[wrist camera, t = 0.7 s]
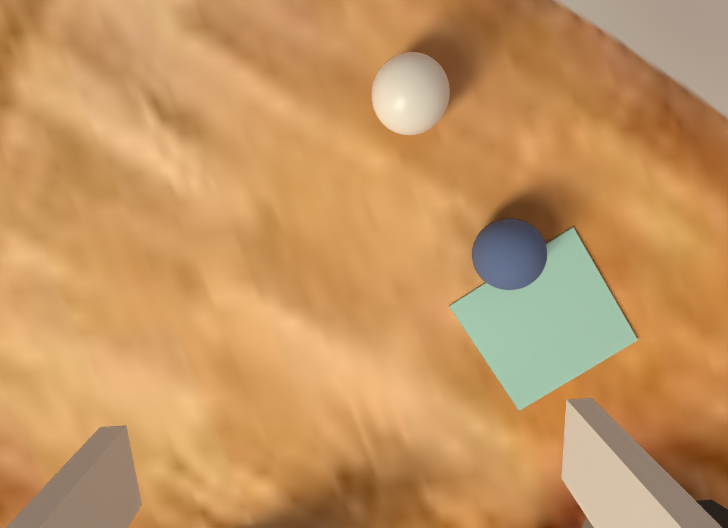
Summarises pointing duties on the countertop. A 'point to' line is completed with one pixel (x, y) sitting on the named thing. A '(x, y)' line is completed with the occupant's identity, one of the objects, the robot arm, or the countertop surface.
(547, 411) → the countertop surface
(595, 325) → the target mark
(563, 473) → the robot arm
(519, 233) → the object ball
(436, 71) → the cue ball
